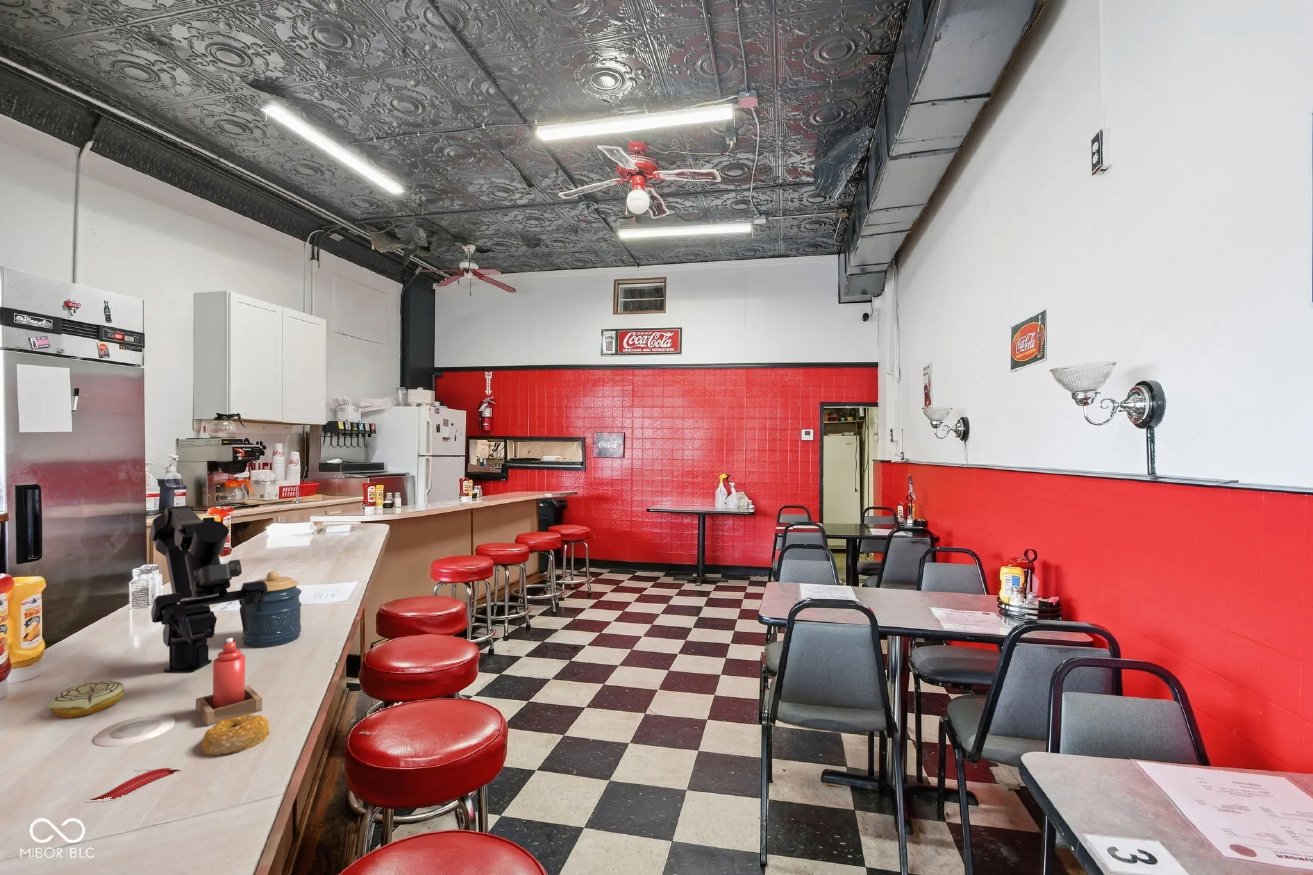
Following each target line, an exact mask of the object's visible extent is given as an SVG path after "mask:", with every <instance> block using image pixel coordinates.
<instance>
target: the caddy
mask: <svg viewBox="0 0 1313 875" xmlns="http://www.w3.org/2000/svg"><path fill="white" fill-rule="evenodd" d="M262 711H263V697H262V696H260V695H259V694H258V693H257V692H256V691H255V690H254V689H253V688H252V687H251V686H250V685H245V701H242V702H238V703H235V704H231V705H227V706H224V707H220V708H216V709H213V693H212V694H209V695H205V696H201V697H196V698H195V713H196V714H197V716H199V718H200V719H201V720H202V721H203V723H204V724H205V725H206V727H211V726H215V725H216V724H217V723H218V722H219V721H221V720H225V719H231V718H236V717H241V716H246V715H253V714H256V713H259V712H262Z"/></svg>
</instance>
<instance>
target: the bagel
mask: <svg viewBox="0 0 1313 875" xmlns="http://www.w3.org/2000/svg"><path fill="white" fill-rule="evenodd" d="M269 734H270V722H269V720H268V718H267V717H264V716H263V715H261V714H259V715H254V714H249V715H246V716H241V717H236V718H231V719H225V720H221V721H219V722H218V723H217V724H215V725H212V727H211V728H208V729H207V730H206V732H205V733H204V736H203V738H202V742H201V750H202V752H203V753H204V754H205V755H207V756H221V755H228V754H235V753H239V752H243V751H246V750H249V749H252V748H253V747H255V746H257V745H259V744H261V743H262V742H264V741H265V740H267V737H268V736H269Z"/></svg>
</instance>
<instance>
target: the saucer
mask: <svg viewBox="0 0 1313 875" xmlns="http://www.w3.org/2000/svg"><path fill="white" fill-rule="evenodd" d="M175 723H176V719H175V717H173V716H172V715H167V714H152V715H151V714H150V715H144V716H138V717H135V718H134V717H133V718H130V719H129V718H128V719H126V720H123V721H120V722H117V723H114V724H112V725H109V726H107V727H106V728H104V729H102V730H100V731H99V732H98V733H97V734H95V735H94V737H93V743H94V744H95V745H97V746H100V747H119V746H127V745H132V744H136V743H140V742H143V741H147V740H150V739H152V738H156V737H158V736H159V735H162V734H163V733H165V732H168V731H169V730H170V729H172V727H174V725H175Z"/></svg>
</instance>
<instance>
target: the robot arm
mask: <svg viewBox="0 0 1313 875" xmlns="http://www.w3.org/2000/svg"><path fill="white" fill-rule="evenodd" d="M229 532H230V531H229V527H228V526H227V525H226V524H225V523H222V522H221V521H217V520H215V516H210V517H202V518H201V517H199V515H198V514H197V513H196V512H195V511H194V507H193V506H192V505H191V506H190V505H175V506H174V505H172V506H169V507H165V509H164V512H163V513H162V514H160V515H158V516H157V517H155V518H154V519H153V520H152V522H151V526H150V528H149V536H150V537H149V538H150V542H153V544H154V548H155V550H156V551H157V552H158V553H160V554H161V555H163V556H164V557H165V560H166V565H167V572H168V576H169V582H170V583H169V584H170V587H171V588H170V589H171V593H168V594H161V595H157V596H156V597H155V598H154V600H153V603H152V606H151V609H150V615H151V621H152V622H151V623H154V624H157V623H161V625H162V626H163V625H164V627H163V629H162V639H163V640H162V641H163V643H164V645H165V646H166V647H169V650H168V652H169V653H168V654H169V656H168V657H169V658H168V659H169V660H168V662H169V664H168V667H165V668H164V669H163V672H164V673H192V672H194V671H197V670H198V669H200V668H202V667H205V666H207V665H208V664H211V663H213V662H212V661H213V660H212V659H210V658H209V650H210V649H209V644H208V639H213V638H214V636H215V630H216V629H215V628H216V625H217V621H218V619H217V618H218V617H217V616H215V612H214V611H213V610H212V611H211V607H210V606H212V605H213V606H214V605H219V604H223V603H231V602H236V601H238V602H239V605H240V607H239V614H240V620H241V625H242V626H241V627H242V630H243V629H244V632H247V630H248V626H249V620H250V614H251V609H254V608H256V606H257V605H259V604H261V603H262V602H263V599H264V597H265V594H266V592H267V590H268V589H267V586H266V583H265V582H264V581H262V580H260V581H256V580H254V581H247V582H243V584H242V586H241V589H239V590H233V591H228V589H230V588H231V581H232V580H233V578H235V577H237V578H238V577H240V575H242V572H243V570H242V564H241V561H240V559H235V560H234V559H233V560H229V561H228V562H227V563H221V560H220V555H222V554H223V551H224V548H225V545H226V542H227V538H228V535H229Z"/></svg>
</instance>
